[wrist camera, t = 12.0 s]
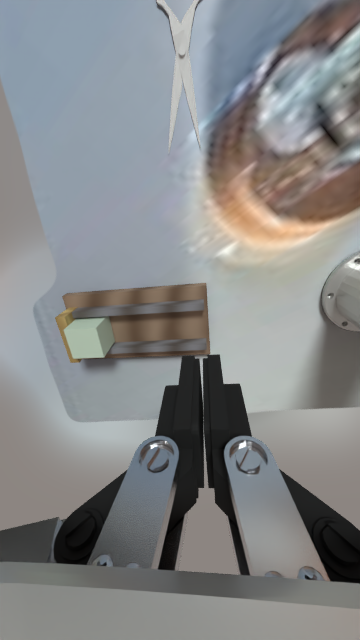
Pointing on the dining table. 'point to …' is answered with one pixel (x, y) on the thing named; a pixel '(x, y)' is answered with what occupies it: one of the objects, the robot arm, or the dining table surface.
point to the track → (145, 319)
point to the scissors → (182, 64)
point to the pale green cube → (89, 337)
